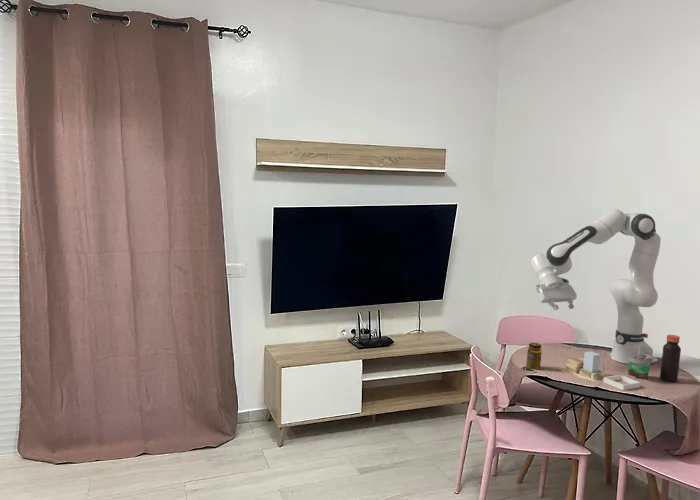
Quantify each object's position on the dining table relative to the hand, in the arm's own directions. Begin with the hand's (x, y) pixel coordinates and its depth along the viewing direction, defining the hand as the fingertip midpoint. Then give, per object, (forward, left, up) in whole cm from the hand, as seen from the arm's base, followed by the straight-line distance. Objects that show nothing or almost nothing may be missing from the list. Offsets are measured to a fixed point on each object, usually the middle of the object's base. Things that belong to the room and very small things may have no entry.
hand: (564, 308), depth 268 cm
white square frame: (-4, +31, -27) cm, 41 cm away
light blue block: (0, +18, -26) cm, 32 cm away
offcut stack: (0, +11, -26) cm, 28 cm away
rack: (0, +15, -27) cm, 31 cm away
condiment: (+18, +1, -27) cm, 33 cm away
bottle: (-32, +32, -27) cm, 53 cm away
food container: (-21, +27, -27) cm, 44 cm away
